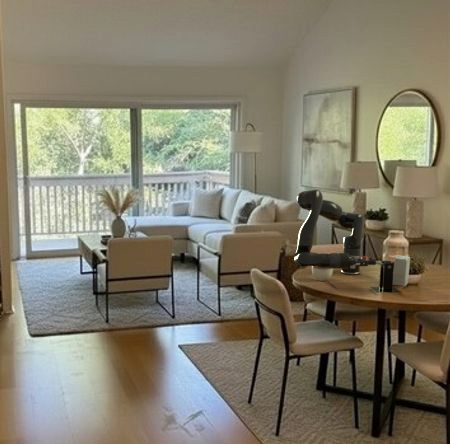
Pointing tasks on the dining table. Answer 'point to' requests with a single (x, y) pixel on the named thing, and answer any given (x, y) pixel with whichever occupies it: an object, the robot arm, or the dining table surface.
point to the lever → (376, 262)
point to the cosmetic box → (401, 270)
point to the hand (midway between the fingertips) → (373, 261)
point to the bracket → (386, 278)
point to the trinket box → (322, 273)
